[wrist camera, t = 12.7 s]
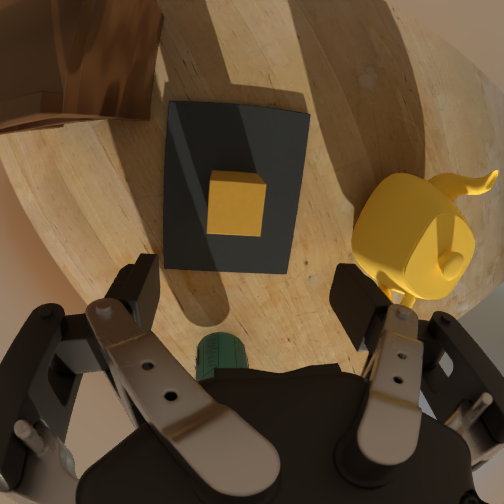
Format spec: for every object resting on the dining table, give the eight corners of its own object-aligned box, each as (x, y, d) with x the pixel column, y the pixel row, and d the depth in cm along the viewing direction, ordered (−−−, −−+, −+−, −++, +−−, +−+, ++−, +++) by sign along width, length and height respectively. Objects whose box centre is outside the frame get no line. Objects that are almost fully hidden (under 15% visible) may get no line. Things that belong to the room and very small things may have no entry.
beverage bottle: (193, 324, 35) (184, 470, 17) (244, 321, 36) (267, 466, 17) (200, 359, 38) (199, 490, 20) (246, 356, 38) (266, 487, 20)
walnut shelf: (66, 32, 18) (-43, -13, 1) (164, 16, 20) (105, -91, 3) (52, 128, 23) (-80, 153, 6) (149, 120, 25) (38, 114, 7)
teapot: (454, 178, 30) (521, 205, 19) (386, 297, 37) (432, 354, 26) (392, 120, 27) (469, 126, 16) (313, 266, 33) (354, 332, 22)
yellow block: (212, 169, 27) (209, 179, 21) (257, 173, 28) (266, 184, 22) (208, 213, 29) (206, 233, 23) (252, 215, 29) (260, 236, 24)
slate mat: (170, 101, 24) (169, 101, 24) (308, 114, 26) (310, 114, 25) (164, 266, 31) (164, 268, 31) (285, 272, 33) (286, 274, 33)
